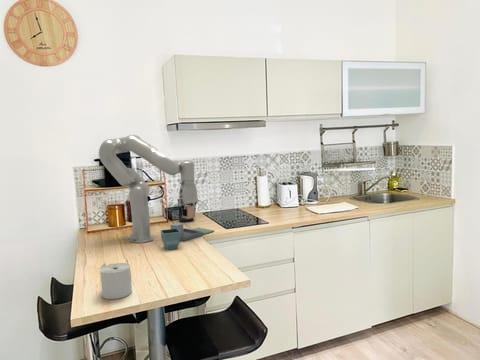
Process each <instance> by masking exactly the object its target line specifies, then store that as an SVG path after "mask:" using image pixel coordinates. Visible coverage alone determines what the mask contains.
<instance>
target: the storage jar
mask: <svg viewBox="0 0 480 360" xmlns="http://www.w3.org/2000/svg"><path fill="white" fill-rule="evenodd" d="M178 201H179V198H177V202H178ZM181 204H182V203H181ZM192 204H193V203H192ZM187 205H190V204H187ZM177 206H178V223H180V224H185V223H192V222H194V218H190V219H186V218H182V209H181V207H180V206H179V205H178V204H177Z"/></svg>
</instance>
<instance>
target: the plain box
mask: <svg viewBox="0 0 480 360" xmlns="http://www.w3.org/2000/svg"><path fill="white" fill-rule="evenodd" d="M175 228H177V229H178V230H179V231H180V236H183V235H184V231H183V228H184V223H181V222H177V223H176V222H175V223H173V224H170V229H175Z"/></svg>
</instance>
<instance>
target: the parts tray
mask: <svg viewBox="0 0 480 360" xmlns="http://www.w3.org/2000/svg"><path fill="white" fill-rule="evenodd" d="M191 229H192V228H191ZM191 229H190V228H187V227H183V231H184V235H183V236H180V242H184V243H185V242H188V241H191V240H194V239H197V238H201V237H203V236H204V235H203V232H201V231H196V230H191Z"/></svg>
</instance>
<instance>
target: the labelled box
mask: <svg viewBox="0 0 480 360" xmlns="http://www.w3.org/2000/svg"><path fill="white" fill-rule="evenodd" d="M186 209H187V216H183V215H182V218H186V219H190V218H193V219H194V218H196V217H195V214H196V213H195V209H196V206H192V205H186Z"/></svg>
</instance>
